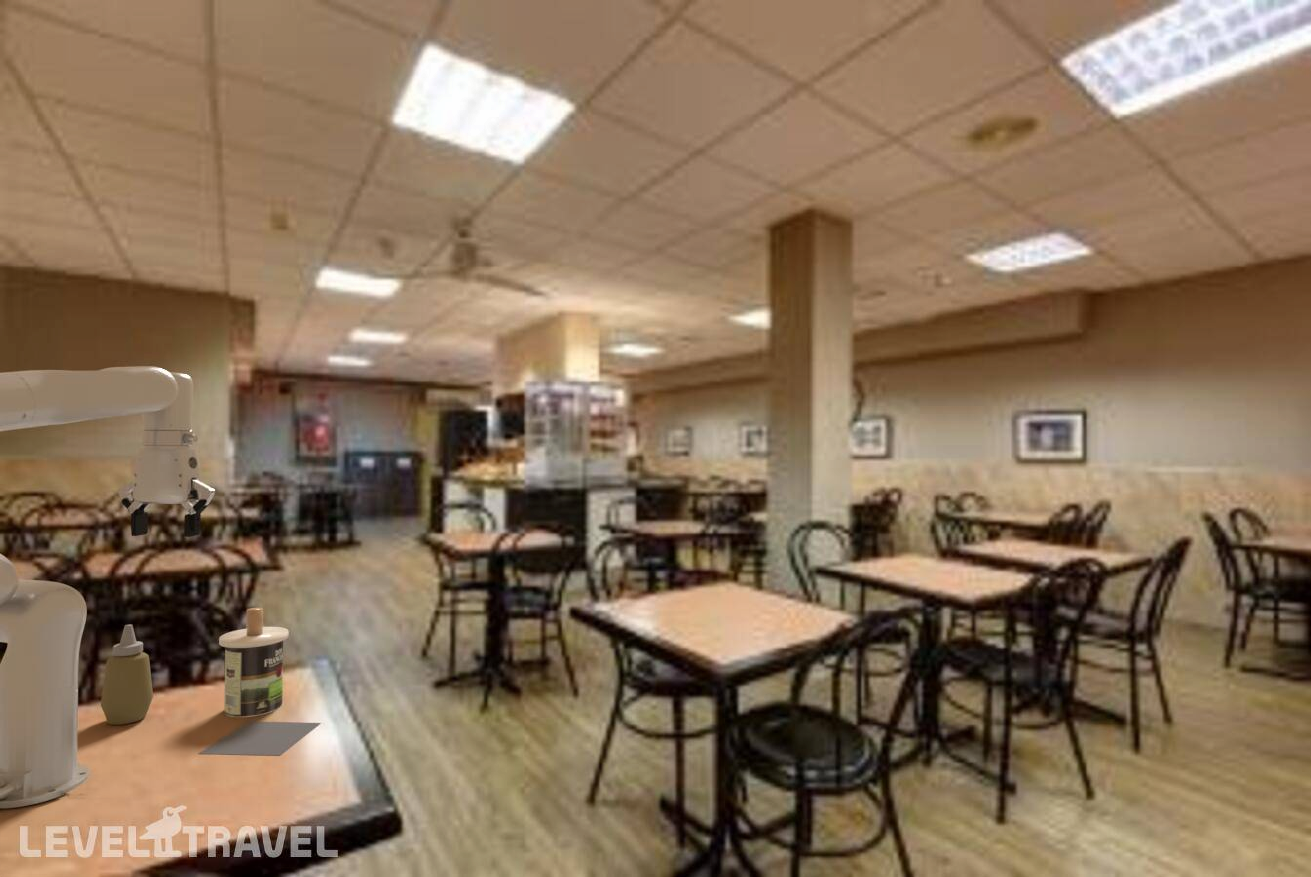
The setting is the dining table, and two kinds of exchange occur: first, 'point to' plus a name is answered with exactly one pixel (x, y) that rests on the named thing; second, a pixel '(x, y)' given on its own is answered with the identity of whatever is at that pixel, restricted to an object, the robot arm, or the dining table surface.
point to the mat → (261, 738)
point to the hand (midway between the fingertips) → (165, 535)
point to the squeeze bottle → (127, 681)
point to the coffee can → (253, 680)
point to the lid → (254, 633)
